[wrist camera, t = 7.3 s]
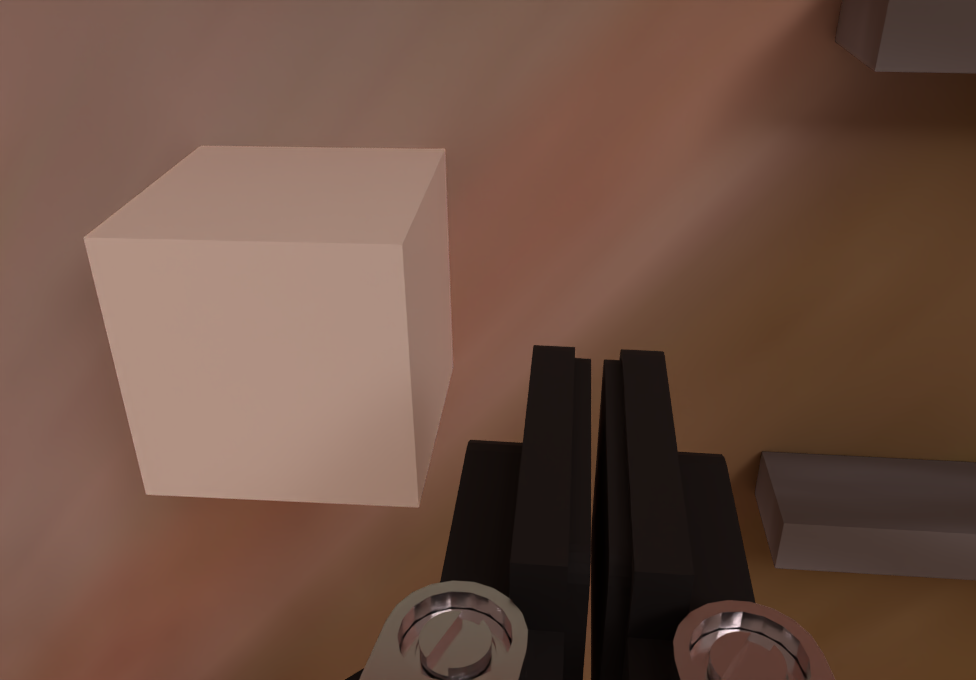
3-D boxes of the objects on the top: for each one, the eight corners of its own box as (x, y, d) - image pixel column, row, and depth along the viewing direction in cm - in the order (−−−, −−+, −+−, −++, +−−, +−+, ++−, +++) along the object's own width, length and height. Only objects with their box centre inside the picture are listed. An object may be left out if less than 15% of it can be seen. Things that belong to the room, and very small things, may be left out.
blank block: (201, 144, 18) (83, 237, 14) (445, 148, 18) (402, 244, 14) (237, 358, 21) (146, 494, 16) (453, 365, 20) (418, 507, 16)
